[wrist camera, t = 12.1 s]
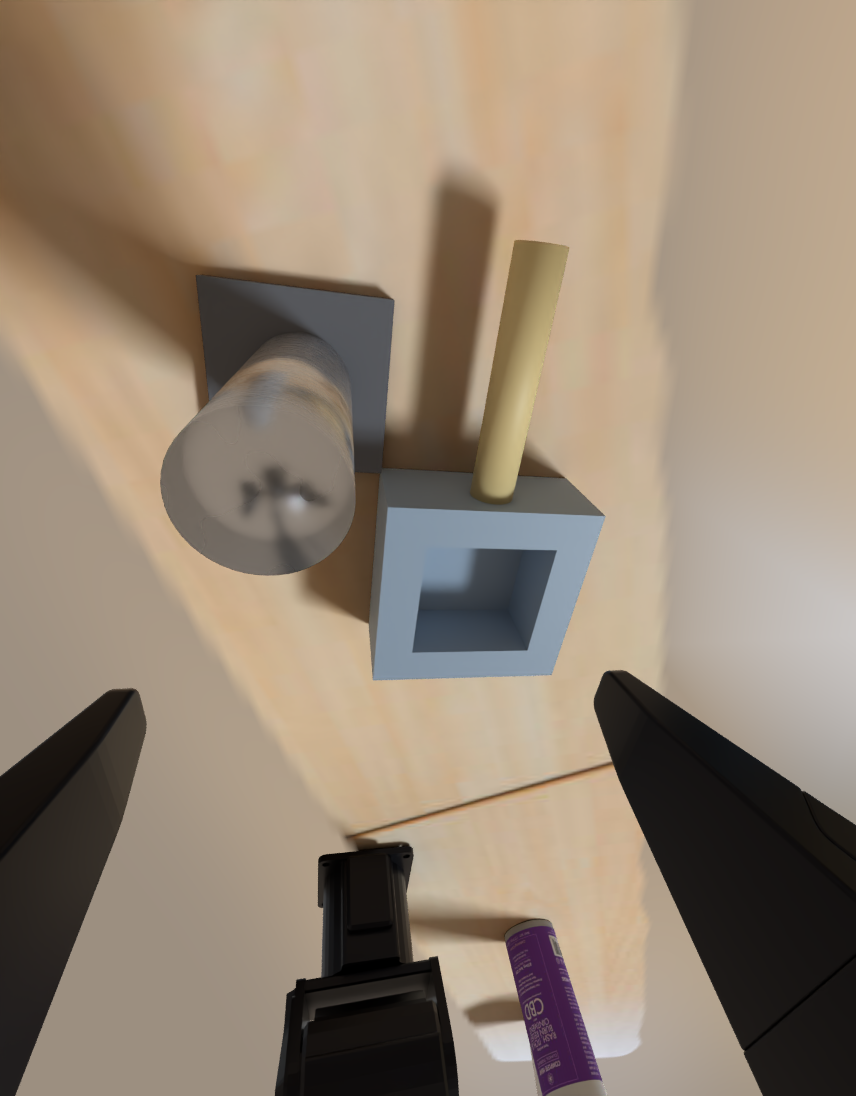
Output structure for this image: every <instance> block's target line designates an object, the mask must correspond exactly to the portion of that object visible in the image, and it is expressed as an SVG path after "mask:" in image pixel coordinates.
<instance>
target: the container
mask: <svg viewBox="0 0 856 1096" xmlns="http://www.w3.org/2000/svg"><path fill="white" fill-rule="evenodd" d="M505 942H506V947H507V951H508V955H509V959H510V963H511V968H512V972H513V976H514V980H515V984H516V988H517V992H518V997H519V1001H520V1005H521V1009H522V1013H523V1017H524V1021H525V1026H526V1030H527V1034H528V1038H529V1042H530V1046H531V1050H532V1055H533V1059H534V1063H535V1067H536V1071H537V1075H538V1079H539V1084H540V1088H541V1092H542V1096H607V1095H606V1092H605V1088H604V1085H603V1081H602V1078H601V1076H600V1072H599V1069H598V1066H597V1063H596V1059H595V1056H594V1053H593V1050H592V1047H591V1044H590V1041H589V1038H588V1035H587V1031H586V1028H585V1025H584V1022H583V1019H582V1016H581V1013H580V1010H579V1006H578V1003H577V1000H576V997H575V994H574V991H573V988H572V985H571V981H570V978H569V975H568V972H567V969H566V966H565V963H564V960H563V956H562V953H561V950H560V947H559V944H558V941H557V938H556V935H555V932H554V929H553V926H552V923H551V922H550V921H547V920H541V919H538V920H530V921H526V922H523V923H520V924H518V925H516V926H514V927H512V928H511V929H510V930H508V931H507V933H506V934H505Z"/></svg>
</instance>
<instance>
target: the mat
mask: <svg viewBox="0 0 856 1096" xmlns="http://www.w3.org/2000/svg"><path fill="white" fill-rule="evenodd" d="M196 282H197V291H198V301H199V310H200V319H201V329H202V338H203V347H204V357H205V366H206V375H207V385H208V394H209V401H210V400H211V399H212V398H213V397H214V396H215V395H216V394H217V392H218V391H219V390H220V389H221V388H222V387H223V386H224V385H225V384H226V383H227V382H228V381H229V380H230V379H231V378H232V377H233V375H234V374H235V373H236V372H237V371H238V370H239V369H240V368H241V367H242V366H243V365H244V364H245V363H246V362H247V361H248V359H249V358H250V357H251V356H252V355H253V354H254V353H255V352H256V351H257V350H258V349H259V348H260V347H261V346H262V345H263V344H264V343H265V342H266V341H267V340H269V339H271V338H272V337H274V336H277V335H279V334H283V333H288V332H302V333H307V334H311V335H314V336H316V337H318V338H320V339H322V340H324V341H325V342H327V343H328V344H329V345H330V346H332V347H333V348H334V349H335V350H336V351H337V352H338V354H339V355H340V356H341V358H342V359H343V361H344V363H345V365H346V367H347V369H348V372H349V376H350V381H351V397H352V421H353V446H354V471H355V472H364V473H381V472H382V459H383V445H384V432H385V419H386V406H387V392H388V379H389V366H390V353H391V339H392V326H393V313H394V300H393V299H389V298H381V297H373V296H365V295H357V294H350V293H342V292H334V291H326V290H318V289H310V288H302V287H294V286H286V285H278V284H270V283H263V282H255V281H247V280H239V279H231V278H223V277H215V276H207V275H196Z"/></svg>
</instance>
